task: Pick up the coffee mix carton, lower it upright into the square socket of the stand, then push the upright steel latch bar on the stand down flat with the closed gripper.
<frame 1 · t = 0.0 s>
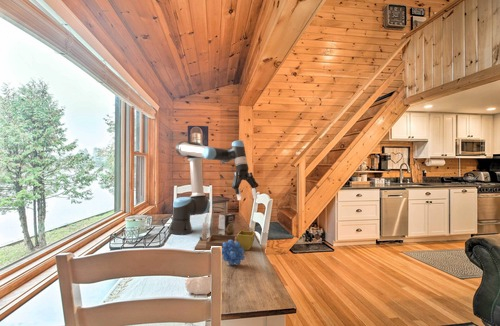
hand: (247, 199, 146), 28 cm above the table, tool tilted 20°, fingers open, 13 cm apart
flower pot: (245, 249, 141), on the table
bust: (201, 291, 91), on the table
stand: (216, 247, 141), on the table
latch bar: (204, 231, 146), point 7 cm above the table, hinge at 80.0°
blue flower head: (231, 266, 115), on the table
coffee box: (225, 239, 157), on the table
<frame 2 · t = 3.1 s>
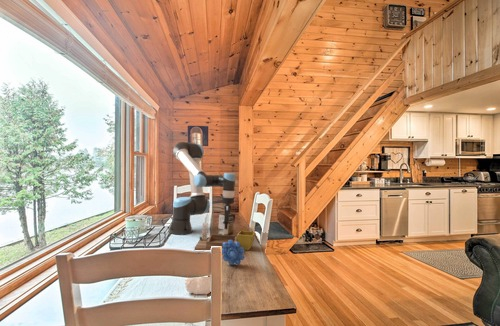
hand: (226, 231, 157), 5 cm above the table, tool pointing down, fingers closed on coffee box, 11 cm apart
coffee box: (225, 239, 157), on the table, touching gripper
everything else where it was.
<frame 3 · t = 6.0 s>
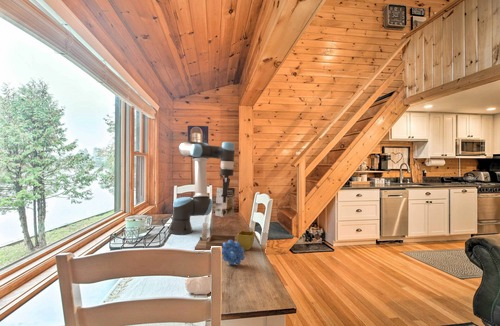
hand: (224, 206, 142), 23 cm above the table, tool pointing down, fingers closed on coffee box, 11 cm apart
coffee box: (224, 215, 142), point 18 cm above the table, touching gripper
everything else where it was.
when the fingers open (9 cm above the table, at t = 9.3 s): coffee box drops 2 cm, resting on stand.
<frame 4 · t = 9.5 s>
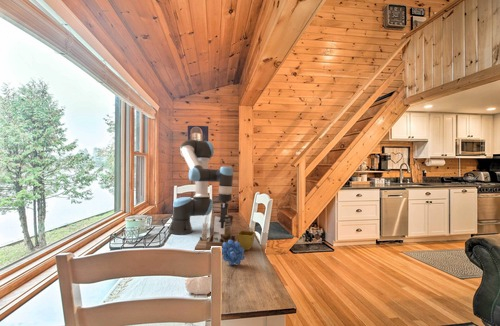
hand: (222, 230, 141), 10 cm above the table, tool pointing down, fingers open, 12 cm apart
coffee box: (222, 244, 141), point 2 cm above the table, touching stand
everything else where it was.
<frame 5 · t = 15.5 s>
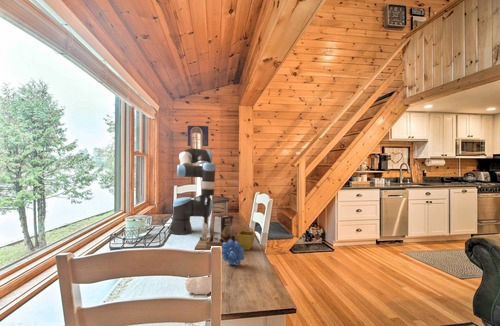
hand: (205, 228, 147), 9 cm above the table, tool pointing down, fingers closed
latch bar: (204, 231, 146), point 7 cm above the table, hinge at 80.0°, touching gripper
everything else where it was.
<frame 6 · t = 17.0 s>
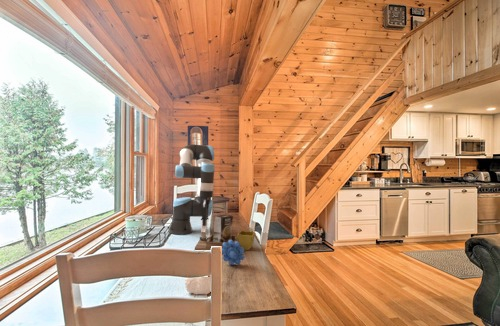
hand: (204, 230, 142), 9 cm above the table, tool pointing down, fingers closed
latch bar: (203, 234, 142), point 6 cm above the table, hinge at 42.9°, touching gripper
everything else where it was.
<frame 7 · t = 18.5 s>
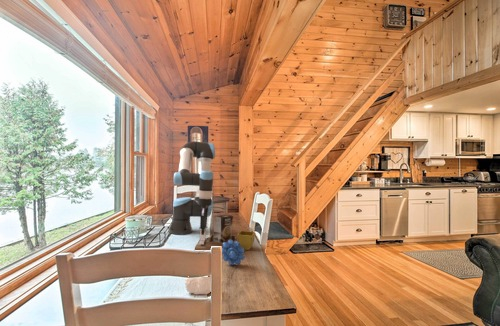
hand: (202, 239, 139), 4 cm above the table, tool pointing down, fingers closed
latch bar: (203, 240, 140), point 3 cm above the table, hinge at 3.7°, touching gripper
everything else where it was.
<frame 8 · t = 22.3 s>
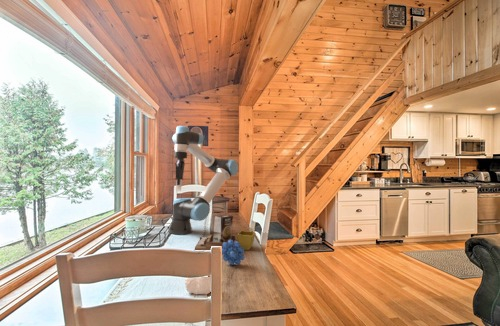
hand: (178, 190, 149), 30 cm above the table, tool pointing down, fingers closed
latch bar: (203, 240, 140), point 3 cm above the table, hinge at 3.6°
everything else where it was.
at the end: coffee box 0.3 cm from the target spot on the stand, point 1.8 cm above the stand's base; coffee box tilted 0°; latch bar at +4° (first picture: +80°) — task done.
